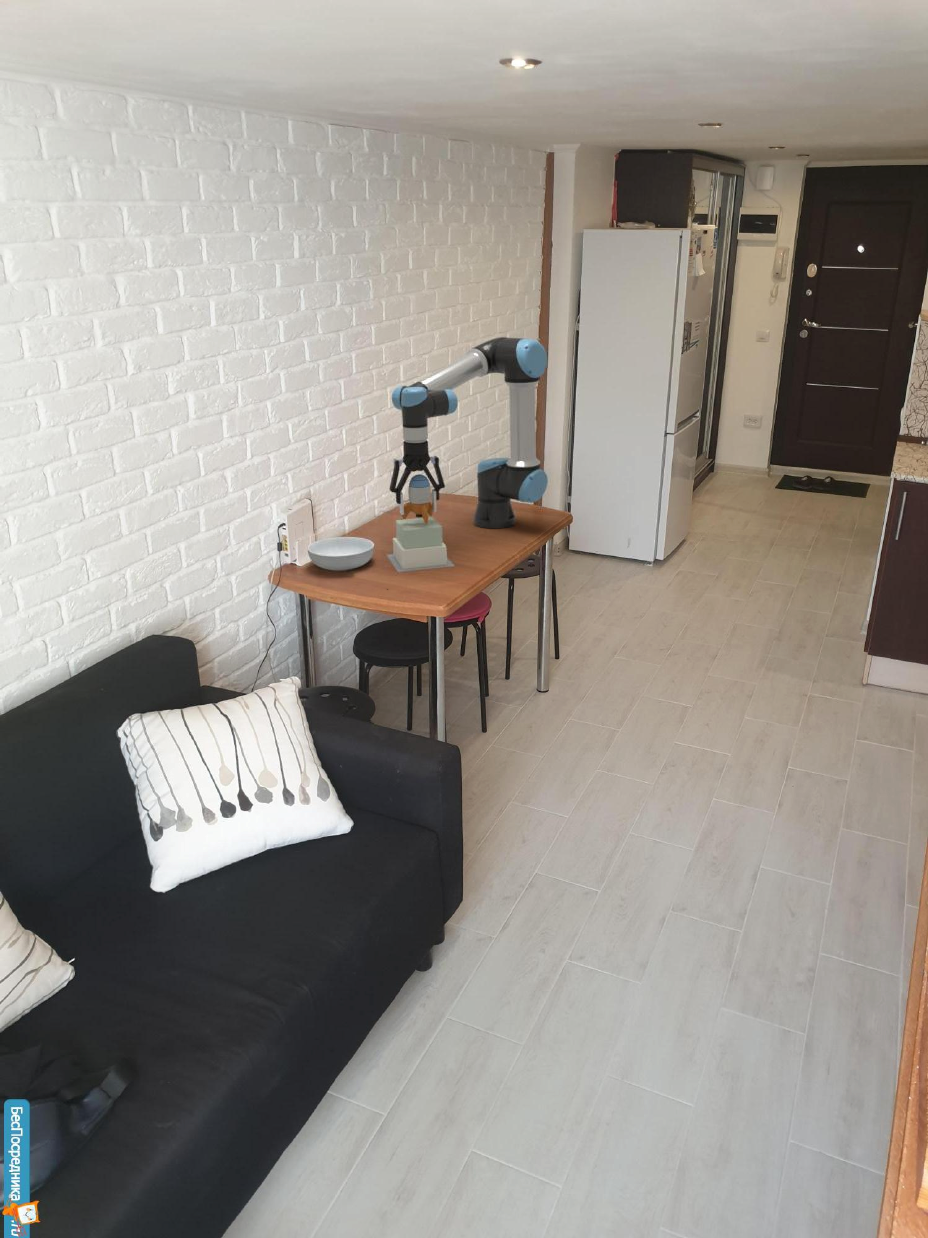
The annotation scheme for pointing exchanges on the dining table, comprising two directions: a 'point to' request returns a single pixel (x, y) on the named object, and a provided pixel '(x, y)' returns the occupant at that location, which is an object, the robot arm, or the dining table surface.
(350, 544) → the serving bowl
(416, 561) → the lower brick
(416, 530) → the upper brick
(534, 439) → the robot arm
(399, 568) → the base plate
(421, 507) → the toy rocket
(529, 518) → the dining table surface
